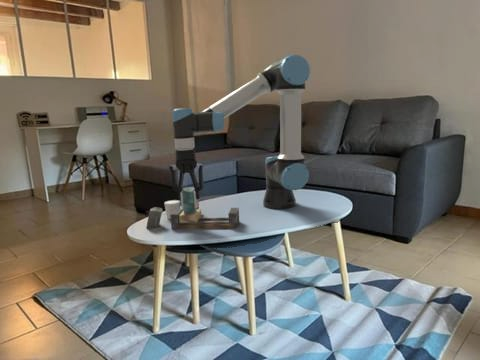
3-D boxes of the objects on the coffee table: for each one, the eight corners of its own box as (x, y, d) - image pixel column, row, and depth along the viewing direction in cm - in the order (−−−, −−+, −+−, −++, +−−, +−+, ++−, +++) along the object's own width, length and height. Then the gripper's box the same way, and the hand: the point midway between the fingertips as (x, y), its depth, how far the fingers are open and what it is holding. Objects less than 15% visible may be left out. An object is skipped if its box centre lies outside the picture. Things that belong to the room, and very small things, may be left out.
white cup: (174, 220, 154) (172, 204, 153) (162, 218, 158) (160, 203, 157) (184, 216, 160) (183, 200, 159) (173, 214, 164) (171, 199, 162)
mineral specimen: (146, 229, 142) (143, 209, 142) (146, 227, 150) (144, 208, 151) (165, 226, 144) (162, 206, 144) (164, 224, 152) (162, 205, 152)
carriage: (201, 216, 149) (199, 187, 147) (197, 222, 141) (194, 192, 139) (185, 216, 150) (182, 188, 148) (179, 222, 142) (177, 192, 140)
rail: (239, 221, 148) (238, 207, 146) (236, 228, 140) (236, 213, 139) (177, 222, 151) (176, 208, 150) (171, 229, 143) (170, 214, 142)
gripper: (209, 147, 143) (213, 204, 147) (166, 148, 145) (171, 205, 149) (205, 149, 135) (209, 209, 140) (159, 151, 137) (165, 210, 142)
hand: (189, 207), depth 145 cm, fingers open, 4 cm apart
